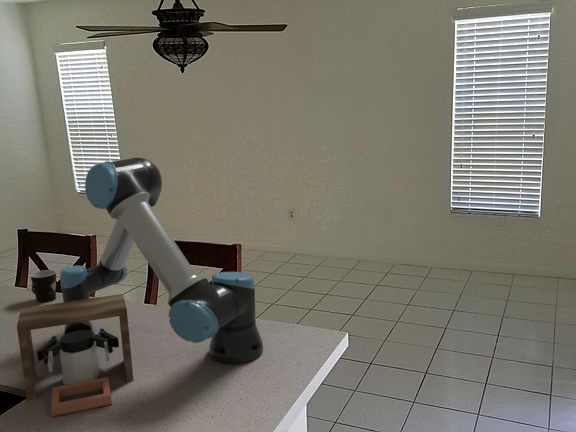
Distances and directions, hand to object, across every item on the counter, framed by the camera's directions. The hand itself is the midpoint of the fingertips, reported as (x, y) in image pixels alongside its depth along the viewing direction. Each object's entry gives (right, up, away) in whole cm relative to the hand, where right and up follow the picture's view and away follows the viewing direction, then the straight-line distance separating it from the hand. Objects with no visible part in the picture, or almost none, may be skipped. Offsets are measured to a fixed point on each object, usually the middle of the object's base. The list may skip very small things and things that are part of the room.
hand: (79, 361), depth 138 cm
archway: (-1, -6, +4) cm, 7 cm away
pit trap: (+3, -8, -6) cm, 10 cm away
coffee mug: (-37, +6, +62) cm, 72 cm away
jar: (-1, -6, +4) cm, 7 cm away
